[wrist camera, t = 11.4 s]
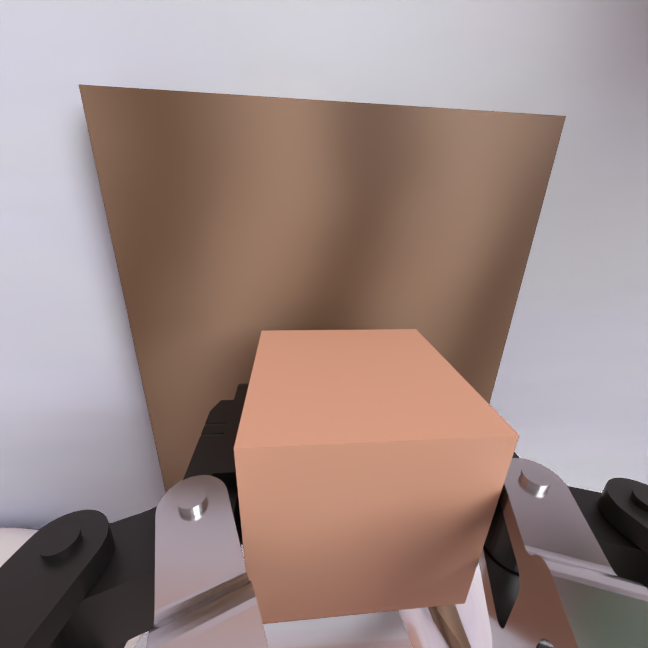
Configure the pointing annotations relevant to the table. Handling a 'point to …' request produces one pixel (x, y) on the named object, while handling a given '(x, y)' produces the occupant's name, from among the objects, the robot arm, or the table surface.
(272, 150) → the walnut board
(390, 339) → the terracotta cube
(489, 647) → the beer glass
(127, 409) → the table surface
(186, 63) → the table surface
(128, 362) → the table surface
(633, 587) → the robot arm
